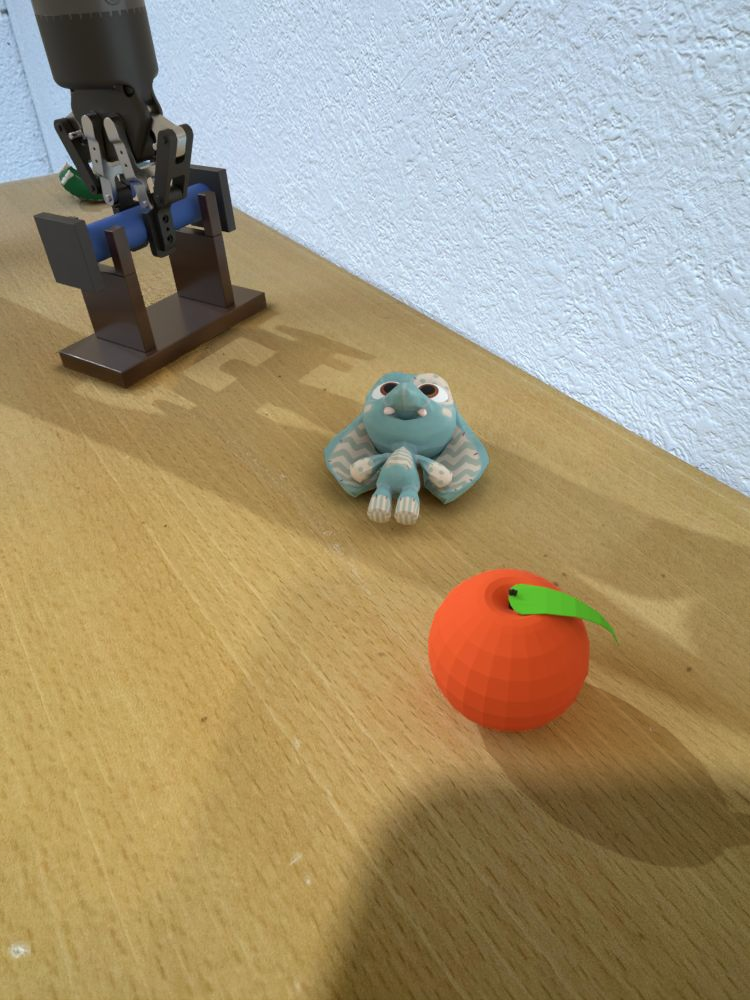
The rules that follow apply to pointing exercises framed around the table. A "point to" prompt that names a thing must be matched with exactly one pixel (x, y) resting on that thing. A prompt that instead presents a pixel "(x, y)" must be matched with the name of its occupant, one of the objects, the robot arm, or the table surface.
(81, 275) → the handle
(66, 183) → the green banana bunch
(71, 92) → the robot arm
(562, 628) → the clementine
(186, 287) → the holder
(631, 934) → the table surface
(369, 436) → the stuffed animal
